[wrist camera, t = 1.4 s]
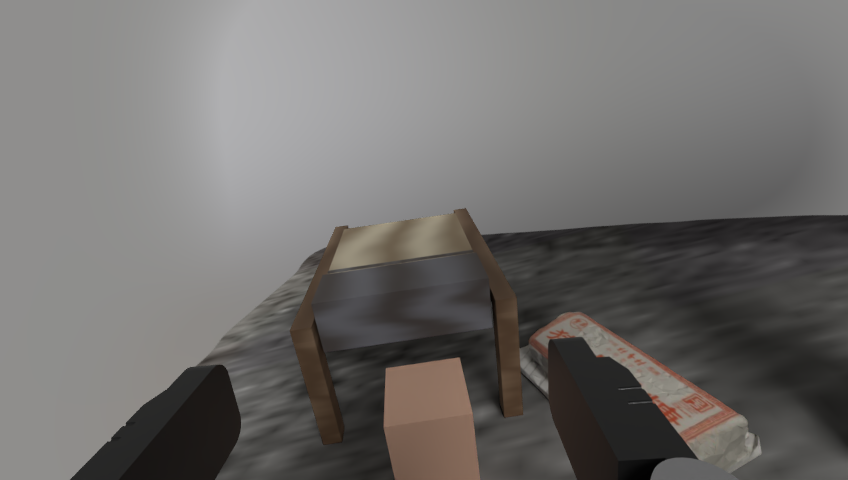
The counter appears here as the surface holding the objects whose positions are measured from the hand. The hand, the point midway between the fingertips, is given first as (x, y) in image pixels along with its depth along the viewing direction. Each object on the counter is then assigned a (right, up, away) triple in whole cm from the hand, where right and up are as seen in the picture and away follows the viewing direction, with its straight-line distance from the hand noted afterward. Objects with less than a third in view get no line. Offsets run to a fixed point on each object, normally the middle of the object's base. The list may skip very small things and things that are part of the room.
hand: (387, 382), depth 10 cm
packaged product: (+17, -11, +25) cm, 32 cm away
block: (+2, -15, +18) cm, 24 cm away
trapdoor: (-1, -1, +30) cm, 31 cm away
